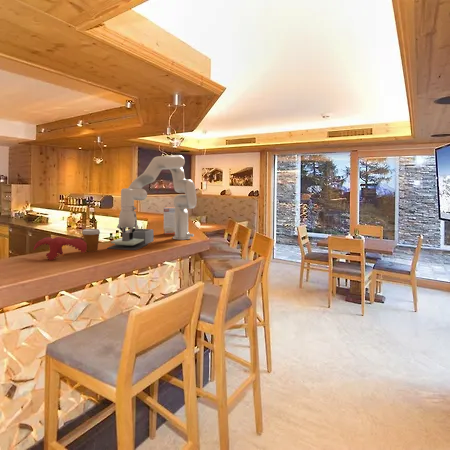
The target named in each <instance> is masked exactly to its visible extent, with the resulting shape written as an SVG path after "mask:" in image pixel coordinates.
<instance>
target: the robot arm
mask: <svg viewBox="0 0 450 450" xmlns="http://www.w3.org/2000/svg"><path fill="white" fill-rule="evenodd" d="M185 163H186V161H185V157H184V156H183V155H181V154H173V155H172V154H171V155H162V156H161V155H160V156H159V155H158V156H155V157H153V158H152V159H151V161H150V162H149V164H148V166H146V169H145V170H144V171H143V173H141V174H140V175H138V177H136V178H135V179H134V180H133V181H132V182H131V183H130V185H129V186H128V188H127V187H126V188H121V191H120V206H121V207H120V208H121V209H120V211H119V216H118V224H117V227H116V228H118V229H119V230H120V231H121V233H123V232H126V231H127V228H129V230H130V233H129V237H130V239H133V232H134V231H135V230H136V229H140V228H139V225H138V219H137V212H136V210H137V207H135V201H138V202H139V201H145V200H146V199H147V197H148V192H147V191H146V189H144V187H145V186H147V185H150V184H152V183H153V182H155V181H156V179H157V178H158V177H159V175H160V173H161V172H162V170H169V171H170V173H171V176H172V182H173V189H174V191H175V192H176V193H179V194H177V195H175V196H174V198H173V207H175V235H174V236H172V239H174V240H184V241H185V240H190V239H191V237H193V238H194V236H195V234H194V233H190V231H189V212H188V209H190V210H191V209H195V208H196V207H197V202H198V200H197V192H196V191H197V190H196V184H195V182H194V180H192V179H186V176H185V171H184V168H183V167H184V166H185Z"/></svg>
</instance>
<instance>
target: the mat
mask: <svg viewBox="0 0 450 450" xmlns="http://www.w3.org/2000/svg"><path fill="white" fill-rule="evenodd" d="M148 245H149V243H148V244H135V245H133V246H132V245H115V244H114V245H110V246H109V247H107V248H106V250H107V249H109V250H126V251H137V250H139V249H142V248H144V247H146V246H148Z"/></svg>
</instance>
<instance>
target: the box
mask: <svg viewBox="0 0 450 450" xmlns="http://www.w3.org/2000/svg"><path fill="white" fill-rule="evenodd" d="M127 231H130V229H128V230H127V229H126V232H127ZM133 238H135V239H144V241H142V242H140V243H138V244H148V245H149V244H150V243H152V242H154V229H152V228H151V229H150V228H138V229H136V230H135V231H134V232H133Z"/></svg>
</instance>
